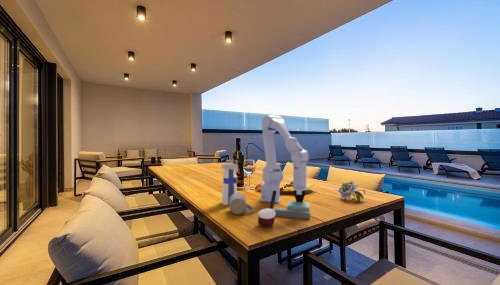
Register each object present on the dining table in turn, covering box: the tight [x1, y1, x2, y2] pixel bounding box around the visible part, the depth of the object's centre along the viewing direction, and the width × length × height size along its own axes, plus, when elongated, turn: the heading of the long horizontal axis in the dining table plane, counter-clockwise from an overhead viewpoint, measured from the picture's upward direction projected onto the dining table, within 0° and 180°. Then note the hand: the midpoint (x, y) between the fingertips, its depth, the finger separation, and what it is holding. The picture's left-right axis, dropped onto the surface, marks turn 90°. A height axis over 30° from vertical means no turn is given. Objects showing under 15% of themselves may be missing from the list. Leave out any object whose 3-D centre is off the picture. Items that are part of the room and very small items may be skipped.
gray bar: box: [273, 207, 311, 220], centre depth 92 cm, size 15×2×2 cm, turn 76°
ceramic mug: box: [228, 192, 254, 216], centre depth 97 cm, size 11×8×8 cm
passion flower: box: [336, 180, 366, 203], centre depth 119 cm, size 11×11×12 cm
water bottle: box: [221, 152, 239, 206], centre depth 110 cm, size 8×9×25 cm
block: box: [286, 200, 310, 211], centre depth 96 cm, size 9×7×4 cm
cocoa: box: [257, 191, 276, 228], centre depth 82 cm, size 10×6×12 cm, turn 113°
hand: (299, 206), depth 101 cm, fingers closed
